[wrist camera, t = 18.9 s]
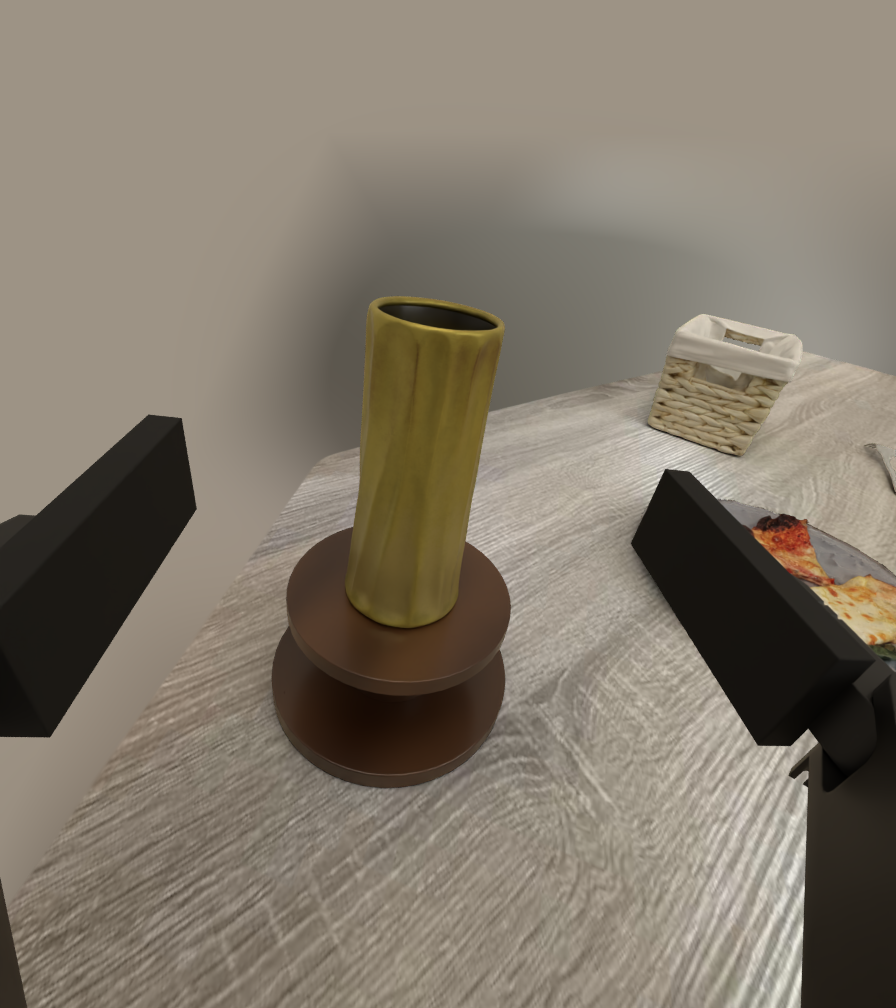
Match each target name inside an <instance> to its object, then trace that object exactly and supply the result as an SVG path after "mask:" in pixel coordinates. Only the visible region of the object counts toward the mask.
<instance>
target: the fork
mask: <svg viewBox="0 0 896 1008" xmlns="http://www.w3.org/2000/svg"><path fill="white" fill-rule="evenodd" d="M868 445H872V446H868ZM864 446H868V447H872V448H876V449H877V450H878V452H879V453H880V454H881V455H882V456H883V461H884V464H885V466H886V468H887V470H888V471H889V474H890V476H891V479H892V483H893V486H894V490H895V492H896V471H895V470H894V469H893V467H892V466H891V464H890V459H891V458H893V457H896V449H893V448H890V447H886V446H883V445H879V444H875V443H871V444H867V445H864ZM874 446H876V447H874Z"/></svg>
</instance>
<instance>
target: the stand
mask: <svg viewBox="0 0 896 1008" xmlns="http://www.w3.org/2000/svg"><path fill="white" fill-rule="evenodd" d="M352 533H353V527H351V528H348V529H345V530H342V531H340V532H337V533H335V534H333V535H331V536H329V537H327V538H325V539H323V540H322V541H320V542H319V543H317V544H316V545H315V546H313V547H312V548H311V549H310V550H308V551H307V553H306V554H305V555H304V556H303V557H302V558H301V559H300V560H299V562H298V563H297V565H296V566H295V568H294V570H293V572H292V574H291V576H290V579H289V583H288V587H287V597H286V602H287V616H288V623H289V627H288V628H287V630H286V631H285V633H284V635H283V636H282V638H281V640H280V643H279V645H278V647H277V650H276V653H275V657H274V661H273V667H272V688H273V700H274V705H275V709H276V714H277V717H278V719H279V722H280V724H281V726H282V729H283V730H284V732H285V734H286V735H287V737H288V738H289V740H290V741H291V743H292V744H293V745H294V746H295V747H296V749H297V750H298V751H299V752H300V753H301V754H302V755H303V756H304V757H305V758H307V759H308V760H309V761H310V762H311V763H313V764H314V765H315V766H317V767H319V768H320V769H322V770H324V771H325V772H327V773H329V774H330V775H333V776H335V777H338V778H340V779H342V780H345V781H348V782H352V783H355V784H359V785H363V786H371V787H380V788H390V787H405V786H411V785H417V784H420V783H424V782H427V781H430V780H433V779H436V778H438V777H440V776H442V775H444V774H447V773H449V772H451V771H452V770H454V769H455V768H457V767H458V766H460V765H461V764H463V763H464V762H465V761H466V760H467V759H469V758H470V757H471V756H472V755H473V754H474V753H475V752H476V751H477V750H478V749H479V747H480V746H481V745H482V744H483V743H484V741H485V740H486V738H487V737H488V735H489V733H490V732H491V730H492V728H493V726H494V723H495V721H496V718H497V716H498V713H499V710H500V708H501V704H502V700H503V696H504V690H505V670H504V664H503V660H502V655H501V652H500V650H499V649H500V646H501V644H502V642H503V640H504V637H505V634H506V631H507V627H508V624H509V620H510V612H511V605H510V596H509V593H508V589H507V586H506V584H505V582H504V580H503V577H502V576H501V574H500V573H499V571H498V570H497V568H496V567H495V566H494V565H493V563H492V562H491V561H490V560H489V559H488V558H487V557H486V556H485V555H484V554H483V553H482V552H480V551H479V550H478V549H476V548H475V547H474V546H472V545H471V544H469V543H467V542H466V541H465V546H464V551H463V557H462V564H461V570H460V577H459V587H458V598H457V601H456V603H455V605H454V606H453V608H452V609H451V610H450V611H449V612H448V613H447V614H446V615H445V616H444V617H442V618H441V619H439V620H437V621H435V622H433V623H430V624H427V625H424V626H420V627H414V628H399V627H392V626H387V625H384V624H380V623H378V622H375V621H374V620H372V619H370V618H369V617H367V616H365V615H364V614H362V613H361V612H360V611H358V610H357V609H356V608H355V607H354V606H353V604H352V603H351V602H350V600H349V598H348V596H347V593H346V588H345V577H346V573H347V568H348V561H349V554H350V547H351V539H352Z"/></svg>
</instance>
